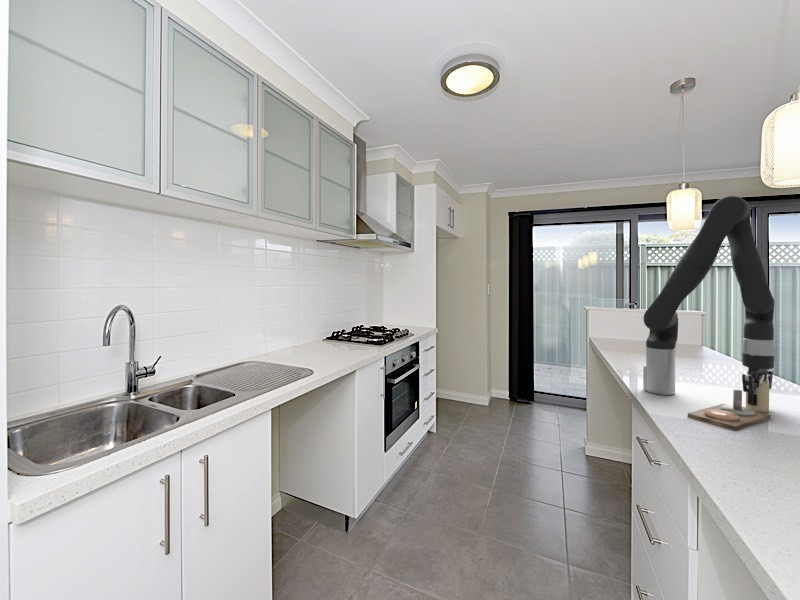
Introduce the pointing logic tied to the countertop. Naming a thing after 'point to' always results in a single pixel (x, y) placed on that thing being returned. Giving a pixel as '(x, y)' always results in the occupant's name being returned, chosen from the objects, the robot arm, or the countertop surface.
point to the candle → (760, 399)
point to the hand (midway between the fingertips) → (757, 403)
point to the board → (745, 414)
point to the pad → (722, 415)
